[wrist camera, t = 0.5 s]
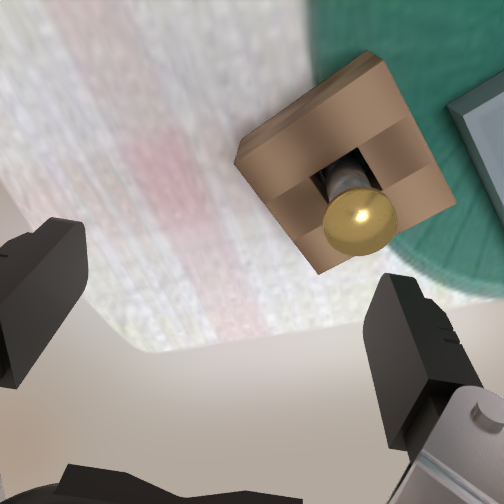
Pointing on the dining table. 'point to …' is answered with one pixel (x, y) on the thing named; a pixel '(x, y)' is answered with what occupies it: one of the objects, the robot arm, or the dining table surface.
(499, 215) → the tray
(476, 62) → the dining table surface
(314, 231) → the pin block
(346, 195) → the pin
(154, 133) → the dining table surface
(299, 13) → the dining table surface
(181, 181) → the dining table surface
